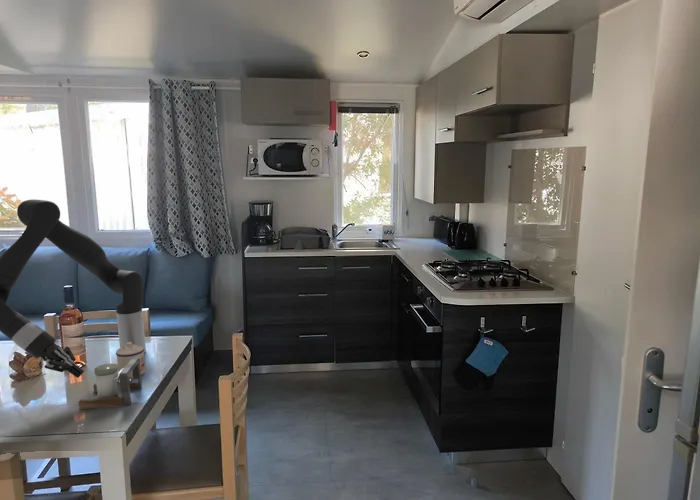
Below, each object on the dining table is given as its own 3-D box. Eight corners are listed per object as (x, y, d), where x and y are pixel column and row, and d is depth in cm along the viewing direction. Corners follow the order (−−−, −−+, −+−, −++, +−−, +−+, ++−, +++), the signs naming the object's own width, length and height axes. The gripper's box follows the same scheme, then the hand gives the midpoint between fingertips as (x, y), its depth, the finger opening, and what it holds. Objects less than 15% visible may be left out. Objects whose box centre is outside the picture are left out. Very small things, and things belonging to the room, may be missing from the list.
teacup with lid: (140, 378, 169) (137, 346, 167) (113, 379, 168) (110, 347, 166) (152, 365, 180) (150, 335, 179) (127, 366, 180) (124, 335, 178)
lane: (95, 390, 160) (92, 360, 158) (141, 387, 162) (139, 357, 160) (79, 409, 147) (75, 376, 146) (129, 405, 149) (126, 373, 148)
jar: (101, 394, 157) (97, 364, 155) (123, 392, 158) (120, 362, 157) (94, 404, 151) (91, 373, 149) (118, 401, 152) (115, 370, 150)
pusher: (124, 389, 159) (122, 368, 158) (142, 388, 160) (140, 366, 159) (115, 401, 151) (113, 379, 150) (134, 400, 151) (132, 377, 150)
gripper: (31, 338, 142) (80, 374, 146) (52, 324, 155) (97, 358, 159) (14, 356, 142) (63, 392, 146) (36, 341, 155) (81, 374, 159)
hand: (81, 374), depth 152 cm, fingers closed
